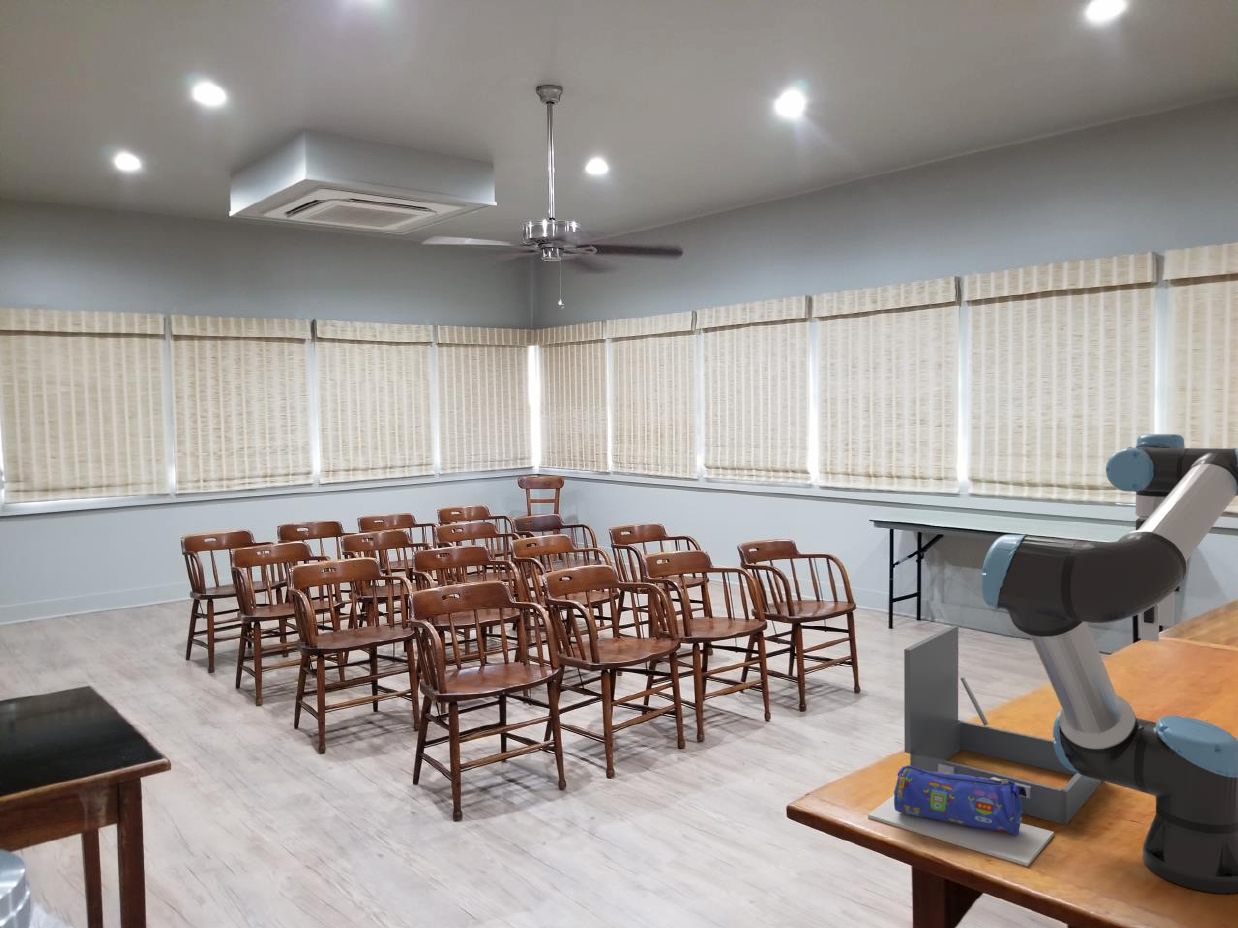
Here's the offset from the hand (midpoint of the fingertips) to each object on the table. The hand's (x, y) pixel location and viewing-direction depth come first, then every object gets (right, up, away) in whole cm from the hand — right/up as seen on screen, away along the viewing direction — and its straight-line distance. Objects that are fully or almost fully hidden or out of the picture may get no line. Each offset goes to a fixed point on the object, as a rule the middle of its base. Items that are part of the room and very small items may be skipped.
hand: (1157, 632), depth 166 cm
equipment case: (-22, -32, +14) cm, 42 cm away
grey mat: (-38, -34, -5) cm, 51 cm away
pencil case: (-39, -33, -5) cm, 51 cm away
